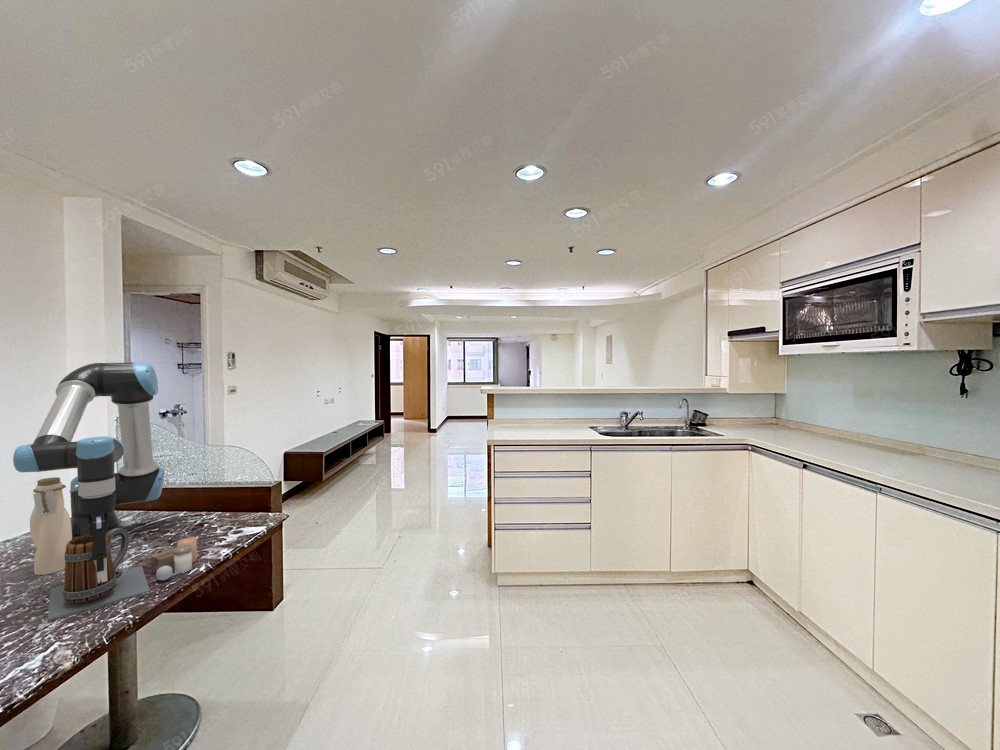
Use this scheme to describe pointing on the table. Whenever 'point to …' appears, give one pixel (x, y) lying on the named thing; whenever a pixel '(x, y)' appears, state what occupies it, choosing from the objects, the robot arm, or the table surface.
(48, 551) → the cream corked bottle
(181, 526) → the table surface
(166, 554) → the walnut block
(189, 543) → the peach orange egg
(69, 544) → the mug
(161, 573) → the grey ball
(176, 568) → the jar
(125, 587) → the slate pad
